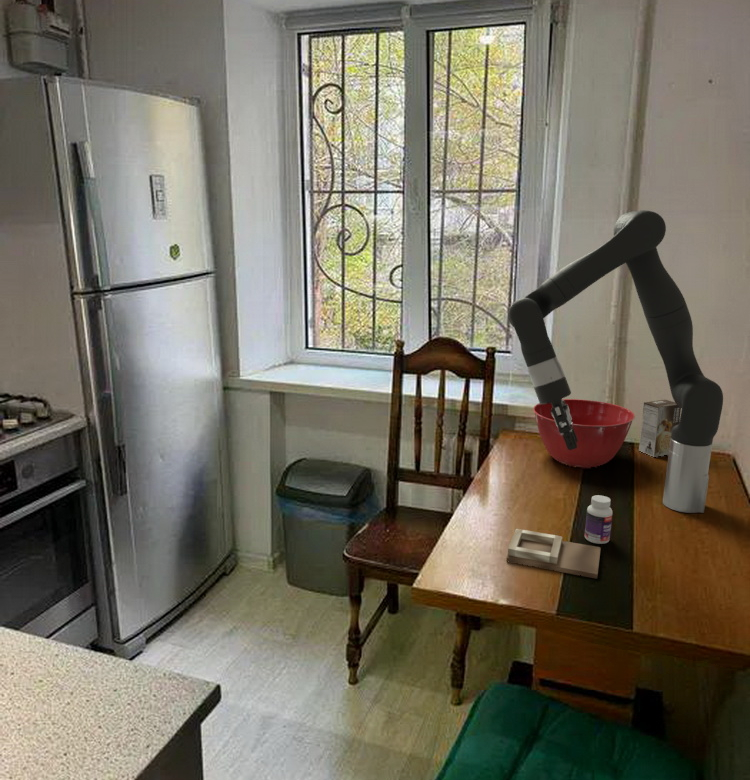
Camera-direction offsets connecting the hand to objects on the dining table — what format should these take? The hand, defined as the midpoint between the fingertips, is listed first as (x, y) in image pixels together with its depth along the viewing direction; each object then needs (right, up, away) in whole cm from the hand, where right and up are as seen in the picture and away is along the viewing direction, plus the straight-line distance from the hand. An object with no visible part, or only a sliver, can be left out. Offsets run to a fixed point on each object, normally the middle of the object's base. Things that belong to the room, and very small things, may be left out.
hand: (573, 445), depth 153 cm
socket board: (-8, -22, -13) cm, 27 cm away
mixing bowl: (+15, -8, +44) cm, 47 cm away
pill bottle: (+4, -21, -5) cm, 22 cm away
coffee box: (+41, -7, +51) cm, 65 cm away
